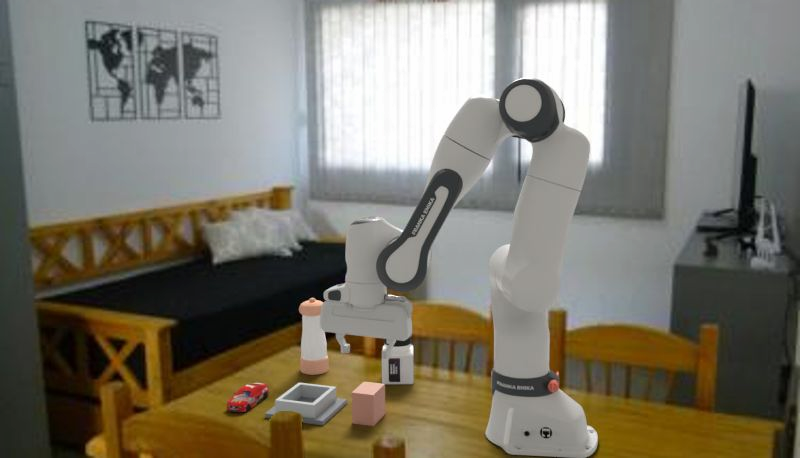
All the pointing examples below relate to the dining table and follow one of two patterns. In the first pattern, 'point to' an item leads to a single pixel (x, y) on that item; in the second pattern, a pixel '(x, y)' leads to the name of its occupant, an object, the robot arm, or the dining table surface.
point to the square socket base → (309, 403)
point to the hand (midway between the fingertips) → (365, 355)
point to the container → (399, 363)
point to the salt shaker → (312, 339)
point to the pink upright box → (368, 403)
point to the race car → (248, 397)
